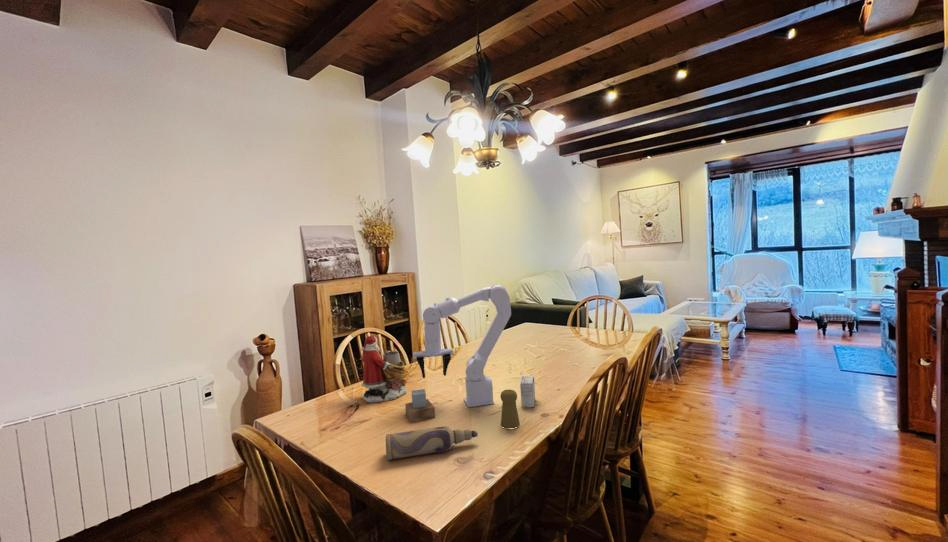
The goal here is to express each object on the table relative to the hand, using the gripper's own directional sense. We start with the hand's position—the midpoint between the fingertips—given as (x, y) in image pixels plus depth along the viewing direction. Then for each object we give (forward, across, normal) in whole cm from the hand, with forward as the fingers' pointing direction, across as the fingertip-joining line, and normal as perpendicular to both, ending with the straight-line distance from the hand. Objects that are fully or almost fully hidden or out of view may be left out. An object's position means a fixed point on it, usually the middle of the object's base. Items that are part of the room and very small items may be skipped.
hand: (434, 376), depth 143 cm
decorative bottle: (+11, -7, -34) cm, 37 cm away
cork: (+10, +20, -26) cm, 34 cm away
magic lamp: (+11, -12, +30) cm, 35 cm away
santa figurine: (+11, -18, +16) cm, 26 cm away
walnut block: (+11, -7, -8) cm, 15 cm away
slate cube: (+7, -7, -8) cm, 12 cm away
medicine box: (+10, +32, -12) cm, 35 cm away
